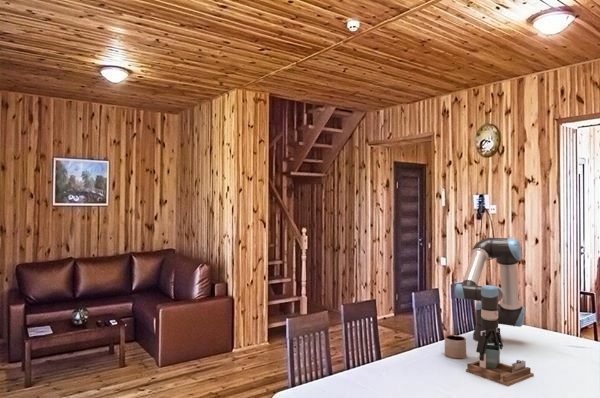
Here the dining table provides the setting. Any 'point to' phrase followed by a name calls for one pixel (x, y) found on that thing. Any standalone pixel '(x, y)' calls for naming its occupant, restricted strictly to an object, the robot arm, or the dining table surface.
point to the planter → (455, 346)
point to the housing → (499, 373)
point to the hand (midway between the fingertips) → (489, 364)
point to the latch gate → (518, 365)
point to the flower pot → (492, 355)
